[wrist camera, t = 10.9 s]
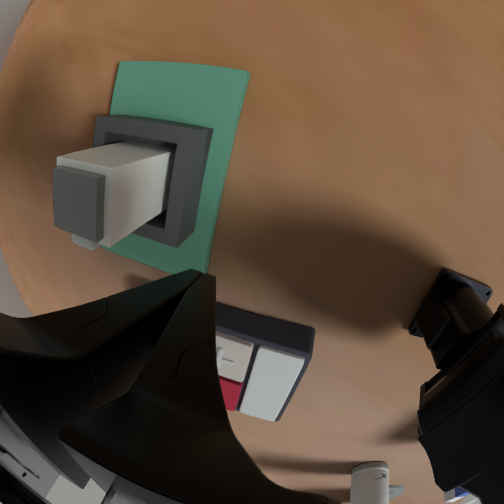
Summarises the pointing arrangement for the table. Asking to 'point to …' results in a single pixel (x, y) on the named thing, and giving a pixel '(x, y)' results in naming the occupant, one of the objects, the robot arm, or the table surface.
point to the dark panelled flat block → (260, 360)
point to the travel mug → (370, 484)
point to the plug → (110, 190)
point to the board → (177, 151)
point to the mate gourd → (395, 490)
